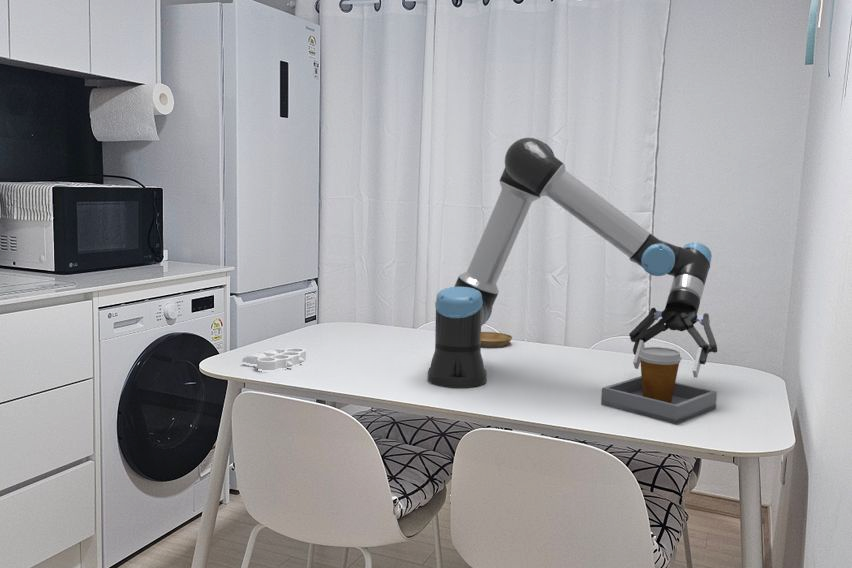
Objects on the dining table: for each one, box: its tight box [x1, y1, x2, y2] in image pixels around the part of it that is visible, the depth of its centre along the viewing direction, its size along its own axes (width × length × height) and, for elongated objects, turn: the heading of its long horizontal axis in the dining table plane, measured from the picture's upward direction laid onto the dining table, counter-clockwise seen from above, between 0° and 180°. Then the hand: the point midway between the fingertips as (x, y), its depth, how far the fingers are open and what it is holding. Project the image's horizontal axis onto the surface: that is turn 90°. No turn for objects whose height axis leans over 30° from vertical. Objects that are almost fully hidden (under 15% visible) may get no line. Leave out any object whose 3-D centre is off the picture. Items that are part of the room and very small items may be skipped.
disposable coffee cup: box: [638, 346, 682, 403], centre depth 178 cm, size 10×10×12 cm
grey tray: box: [600, 375, 718, 425], centre depth 178 cm, size 19×18×4 cm
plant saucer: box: [481, 331, 513, 348], centre depth 243 cm, size 15×15×3 cm
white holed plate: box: [242, 347, 307, 370], centre depth 211 cm, size 3×18×15 cm
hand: (664, 370), depth 179 cm, fingers open, 13 cm apart
